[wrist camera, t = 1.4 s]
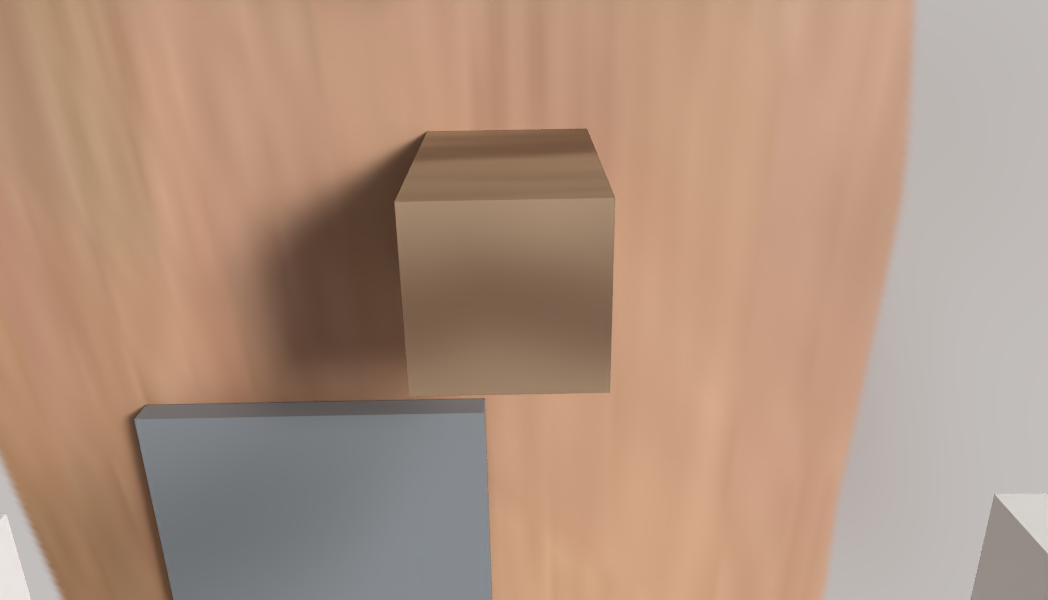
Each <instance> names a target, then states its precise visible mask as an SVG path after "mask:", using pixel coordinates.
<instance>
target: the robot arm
mask: <svg viewBox="0 0 1048 600" xmlns="http://www.w3.org/2000/svg"><path fill="white" fill-rule="evenodd" d="M0 600H31V598H30V595H29V591H28V588H27V584H26V581H25V577H24V574H23V570H22V567H21V563H20V560H19V556H18V553H17V549H16V546H15V542H14V539H13V535H12V532H11V528H10V525H9V522H8V518H7V515H6V513H0ZM971 600H1048V493H1030V494H1029V493H1028V494H994V498H993V503H992V507H991V512H990V516H989V521H988V525H987V529H986V534H985V538H984V543H983V547H982V551H981V556H980V560H979V565H978V569H977V574H976V578H975V583H974V587H973V591H972V596H971Z"/></svg>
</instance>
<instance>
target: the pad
mask: <svg viewBox="0 0 1048 600" xmlns="http://www.w3.org/2000/svg"><path fill="white" fill-rule="evenodd" d="M134 421H135V425H136V430H137V434H138V439H139V444H140V448H141V453H142V457H143V462H144V467H145V471H146V476H147V480H148V485H149V490H150V494H151V499H152V504H153V508H154V513H155V517H156V522H157V527H158V531H159V536H160V540H161V545H162V550H163V554H164V559H165V563H166V568H167V573H168V577H169V582H170V586H171V591H172V596H173V600H492V582H491V554H490V527H489V500H488V473H487V446H486V418H485V399H438V400H385V401H332V402H279V403H226V404H173V405H145V407H144V408H143V409H142V410H141V412H140V413H139V414H138V415H137V417H136V418H135V419H134Z"/></svg>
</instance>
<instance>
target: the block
mask: <svg viewBox="0 0 1048 600" xmlns="http://www.w3.org/2000/svg"><path fill="white" fill-rule="evenodd" d="M394 203H395V217H396V230H397V243H398V257H399V270H400V283H401V297H402V310H403V323H404V337H405V350H406V363H407V377H408V390H409V396H462V395H515V394H568V393H610V370H611V333H612V296H613V259H614V222H615V196H614V194H613V192H612V189H611V187H610V184H609V182H608V179H607V177H606V174H605V172H604V170H603V167H602V165H601V162H600V160H599V157H598V155H597V152H596V150H595V148H594V145H593V143H592V140H591V138H590V135H589V133H588V130H587V129H542V130H483V131H427V133H426V135H425V137H424V139H423V141H422V143H421V146H420V148H419V150H418V152H417V154H416V156H415V159H414V161H413V163H412V165H411V167H410V169H409V171H408V174H407V176H406V178H405V180H404V182H403V184H402V187H401V189H400V191H399V193H398V195H397V197H396V199H395V202H394Z"/></svg>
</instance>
